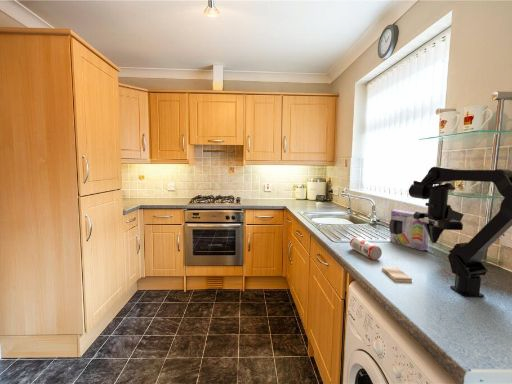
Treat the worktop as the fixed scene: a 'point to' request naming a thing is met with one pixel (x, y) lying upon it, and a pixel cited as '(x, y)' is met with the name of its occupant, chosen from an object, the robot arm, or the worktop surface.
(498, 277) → the worktop surface
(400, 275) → the chopping board
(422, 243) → the cake pan box
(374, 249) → the beer can
